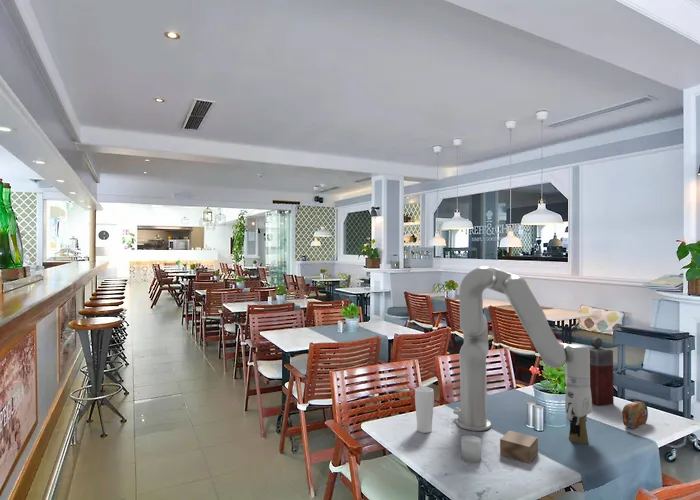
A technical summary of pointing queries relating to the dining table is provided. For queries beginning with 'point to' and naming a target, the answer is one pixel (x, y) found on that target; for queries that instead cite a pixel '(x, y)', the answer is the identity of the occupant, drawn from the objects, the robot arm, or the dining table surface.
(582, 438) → the cork
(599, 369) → the dark red canister
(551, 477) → the dining table surface
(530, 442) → the block
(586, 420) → the robot arm
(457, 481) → the dining table surface
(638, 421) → the tin
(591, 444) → the dining table surface
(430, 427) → the drinking glass
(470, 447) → the grey rounded block
